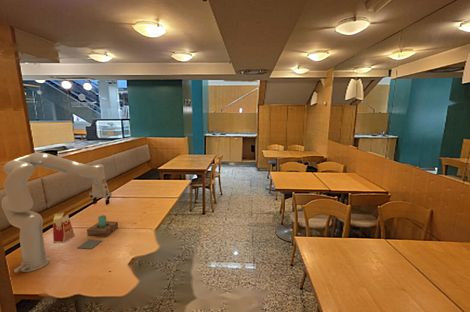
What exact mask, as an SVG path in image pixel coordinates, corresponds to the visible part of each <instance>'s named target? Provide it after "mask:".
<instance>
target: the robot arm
mask: <svg viewBox="0 0 470 312" xmlns="http://www.w3.org/2000/svg"><path fill="white" fill-rule="evenodd" d="M35 168H43V169H46V170H50V171H51V170H52V171H55V172H60V173H64V174H68V175H74V176H75V175H76V176H80V177H82V178H86V179H92V186H91V191H89V193H88V195H89V197H90V198H91V200H92V205H97V204H98V198H104V199H105V201H104V202H105V205H106V206H108V205H109V204H110V199H111V198H112V195H113V193H112V192H110V191H109V187H108V183H107V180H106V176H105V166H104V165H103V164H100V163H97V164H93V165H88V164H85V163H81V162H78V161H74V160H71V159H67V158H64V157H61V156H58V155H54V154H51V153H48V152H47V153H46V152H40V151H39V152H33V153H30V154H27V155H24V156H20V157H18V158H14V159H12V160H9V161H8V162H6V163H5V164H4V165H3V168H2V169H3V172H4V173H5V175H7V176H6V177H5V180H4V181H3V190H4V193H5V196H3V198H2V199H1V201H0V202H1V209H2V210H3V213H4V215H5V217H6V219H7V221H8V222H9V224H10V225H12V226H13V227H16V228H19V243H20V251H21V256H22V261H21V262H20V265H19V266H17V267H16V268H14V269H13V272H14V273H18V272H19V271H20V272H22V273H29V272H34V271H37V270H40V269H41V268H44V267H45V266H47V265H48V264H49V263H50V261H51V259H50V257H49V256H46V247H45V240H44V235H43V223H44V221H43V220H44V218H43V217H42V215H41V214H40V213H38V212H35V211H31V209H33V206H34V200H33V198H32V196H31V193H30V190H29V189H28V181H29V179H30V177H31V176H32V175H33V174H34V173H35Z"/></svg>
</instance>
